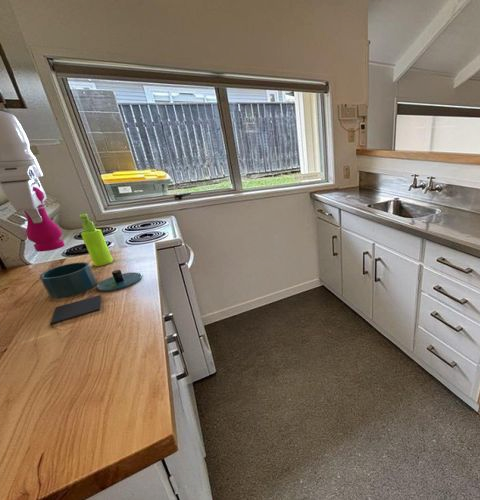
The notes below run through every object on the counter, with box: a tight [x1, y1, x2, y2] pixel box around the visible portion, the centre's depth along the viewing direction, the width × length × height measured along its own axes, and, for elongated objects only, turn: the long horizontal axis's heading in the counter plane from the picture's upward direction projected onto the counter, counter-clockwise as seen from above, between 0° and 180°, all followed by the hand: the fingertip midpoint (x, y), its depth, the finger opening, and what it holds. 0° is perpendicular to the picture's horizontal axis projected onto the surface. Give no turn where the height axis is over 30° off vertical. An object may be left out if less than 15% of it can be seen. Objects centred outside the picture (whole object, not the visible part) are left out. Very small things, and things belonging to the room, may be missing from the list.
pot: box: [39, 261, 98, 300], centre depth 90 cm, size 11×11×8 cm
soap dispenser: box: [79, 213, 114, 267], centre depth 108 cm, size 6×7×20 cm
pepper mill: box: [23, 187, 65, 252], centre depth 82 cm, size 7×7×20 cm
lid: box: [96, 269, 143, 292], centre depth 94 cm, size 12×12×5 cm
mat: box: [49, 294, 102, 326], centre depth 80 cm, size 10×10×1 cm
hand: (40, 220), depth 82 cm, fingers closed on pepper mill, 5 cm apart
